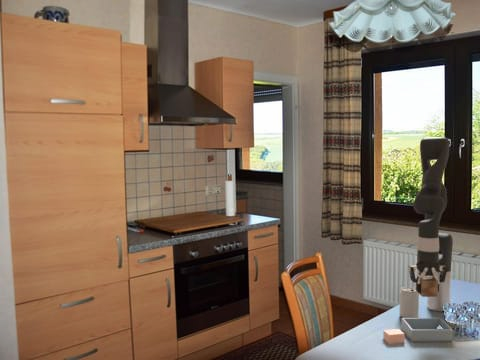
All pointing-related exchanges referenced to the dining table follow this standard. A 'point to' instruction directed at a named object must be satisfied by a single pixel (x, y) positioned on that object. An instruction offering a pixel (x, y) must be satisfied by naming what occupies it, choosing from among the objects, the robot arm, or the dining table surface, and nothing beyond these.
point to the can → (409, 302)
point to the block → (429, 287)
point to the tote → (427, 330)
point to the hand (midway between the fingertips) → (427, 292)
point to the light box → (393, 336)
